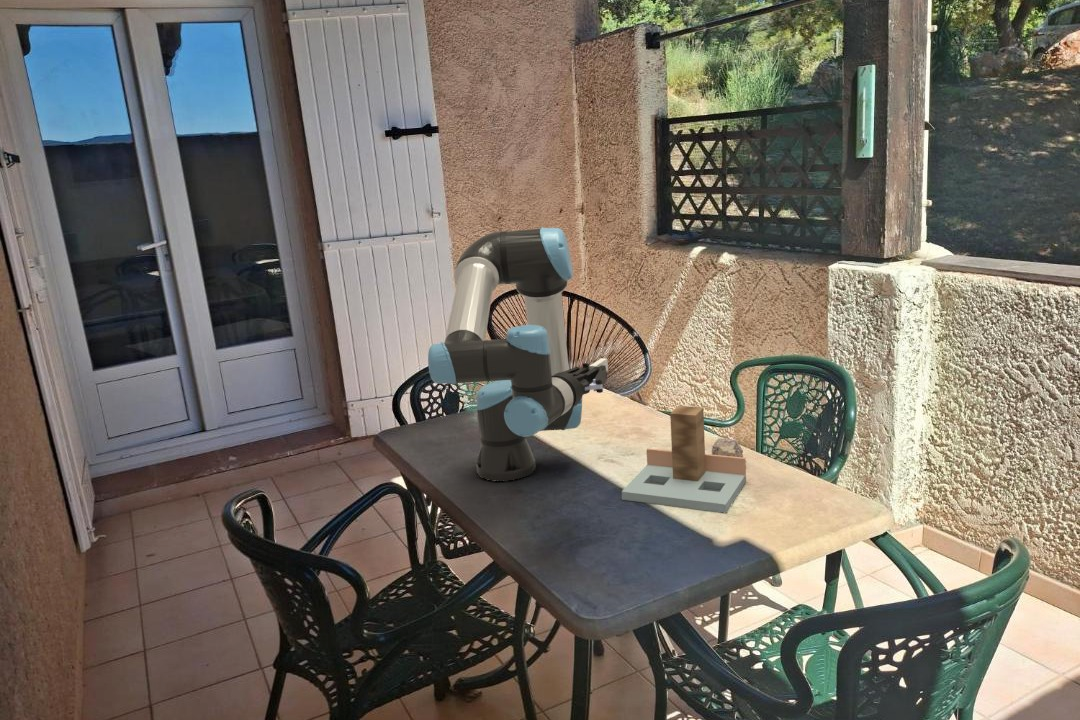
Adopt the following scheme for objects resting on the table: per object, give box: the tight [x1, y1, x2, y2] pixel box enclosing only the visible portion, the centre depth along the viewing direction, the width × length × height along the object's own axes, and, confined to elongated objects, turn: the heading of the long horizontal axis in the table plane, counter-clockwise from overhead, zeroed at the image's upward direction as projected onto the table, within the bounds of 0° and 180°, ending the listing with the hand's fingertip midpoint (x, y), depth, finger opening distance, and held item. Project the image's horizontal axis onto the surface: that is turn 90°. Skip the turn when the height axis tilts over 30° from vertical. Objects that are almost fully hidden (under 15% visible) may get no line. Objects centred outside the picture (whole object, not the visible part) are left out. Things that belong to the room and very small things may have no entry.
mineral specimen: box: [711, 438, 744, 458], centre depth 200 cm, size 13×7×6 cm, turn 8°
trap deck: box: [621, 447, 747, 514], centre depth 188 cm, size 24×18×6 cm
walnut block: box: [669, 405, 706, 481], centre depth 190 cm, size 6×6×16 cm
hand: (604, 364), depth 179 cm, fingers closed
